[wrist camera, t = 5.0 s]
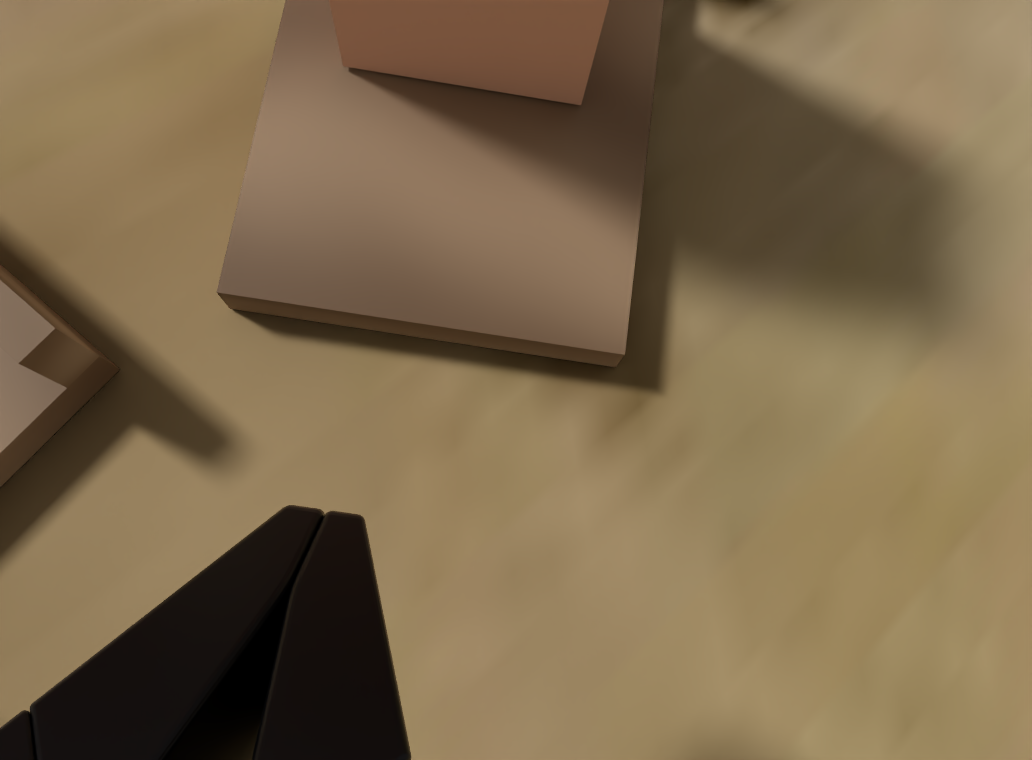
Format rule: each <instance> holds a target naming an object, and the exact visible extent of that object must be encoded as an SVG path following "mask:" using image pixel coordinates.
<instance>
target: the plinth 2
mask: <svg viewBox="0 0 1032 760" xmlns="http://www.w3.org/2000/svg"><path fill="white" fill-rule="evenodd" d="M663 4H664V0H609V4H608V7H607V11H606V15H605V18H604V22H603V26H602V30H601V33H600V37H599V41H598V44H597V48H596V52H595V55H594V59H593V63H592V67H591V70H590V74H589V78H588V81H587V85H586V89H585V93H584V96H583V100H582V104H581V105H576V104H570V103H564V102H557V101H551V100H545V99H539V98H533V97H527V96H521V95H515V94H509V93H503V92H497V91H491V90H484V89H478V88H472V87H466V86H460V85H454V84H448V83H442V82H436V81H430V80H424V79H418V78H411V77H405V76H399V75H393V74H387V73H381V72H375V71H369V70H363V69H357V68H351V67H345V66H343V63H342V59H341V54H340V49H339V45H338V40H337V35H336V31H335V26H334V21H333V17H332V12H331V7H330V3H329V0H286V1H285V5H284V10H283V14H282V18H281V22H280V27H279V31H278V35H277V39H276V43H275V48H274V52H273V56H272V60H271V65H270V69H269V73H268V77H267V82H266V86H265V90H264V94H263V98H262V103H261V107H260V111H259V115H258V120H257V124H256V128H255V132H254V137H253V141H252V145H251V149H250V154H249V158H248V162H247V166H246V170H245V175H244V179H243V183H242V187H241V192H240V196H239V200H238V204H237V209H236V213H235V217H234V221H233V225H232V230H231V234H230V238H229V242H228V247H227V251H226V255H225V259H224V264H223V268H222V272H221V276H220V280H219V285H218V289H217V293H218V295H219V296H220V297H221V298H222V299H223V301H224V302H225V303H226V304H227V305H228V307H229V308H230V309H236V310H243V311H249V312H256V313H262V314H269V315H275V316H282V317H288V318H295V319H302V320H308V321H315V322H321V323H328V324H334V325H341V326H348V327H354V328H361V329H367V330H374V331H380V332H387V333H393V334H400V335H407V336H413V337H420V338H426V339H433V340H439V341H446V342H453V343H459V344H466V345H472V346H479V347H485V348H492V349H498V350H505V351H512V352H518V353H525V354H531V355H538V356H544V357H551V358H558V359H564V360H571V361H577V362H584V363H590V364H597V365H603V366H610V367H616V366H617V365H618V363H619V362H620V361H621V359H622V358H623V357H624V355H625V350H626V341H627V332H628V322H629V313H630V304H631V295H632V286H633V277H634V268H635V259H636V250H637V241H638V231H639V222H640V213H641V204H642V195H643V186H644V177H645V168H646V159H647V150H648V140H649V131H650V122H651V113H652V104H653V95H654V86H655V77H656V68H657V59H658V49H659V40H660V31H661V22H662V13H663Z"/></svg>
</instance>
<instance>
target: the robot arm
mask: <svg viewBox="0 0 1032 760" xmlns="http://www.w3.org/2000/svg"><path fill="white" fill-rule="evenodd" d="M0 760H411V752H410V747H409V742H408V737H407V732H406V727H405V722H404V717H403V712H402V706H401V701H400V696H399V691H398V686H397V681H396V676H395V671H394V666H393V661H392V656H391V651H390V646H389V641H388V635H387V630H386V625H385V620H384V615H383V610H382V605H381V600H380V595H379V590H378V585H377V580H376V575H375V569H374V564H373V559H372V554H371V549H370V544H369V539H368V534H367V529H366V524H365V520H364V518H363V517H362V516H361V515H358V514H351V513H344V512H337V511H330V512H328V513H326V514H324V512H323V511H322V510H321V509H316V508H309V507H302V506H295V505H289V506H286V507H284V508H282V509H281V510H280V511H278V512H277V513H276V514H275V515H273V516H272V517H271V518H270V519H268V520H267V521H266V522H264V523H263V524H262V525H261V526H259V527H258V528H257V529H255V530H254V531H253V532H252V533H250V534H249V535H248V536H246V537H245V538H244V539H243V540H241V541H240V542H239V543H237V544H236V545H235V546H234V547H232V548H231V549H230V550H228V551H227V552H226V553H225V554H223V555H222V556H221V557H219V558H218V559H217V560H216V561H214V562H213V563H212V564H211V565H209V566H208V567H207V568H205V569H204V570H203V571H202V572H200V573H199V574H198V575H196V576H195V577H194V578H193V579H191V580H190V581H189V582H187V583H186V584H185V585H184V586H182V587H181V588H180V589H178V590H177V591H176V592H175V593H173V594H172V595H171V596H169V597H168V598H167V599H166V600H164V601H163V602H162V603H160V604H159V605H158V606H157V607H155V608H154V609H153V610H151V611H150V612H149V613H148V614H146V615H145V616H144V617H143V618H141V619H140V620H139V621H137V622H136V623H135V624H134V625H132V626H131V627H130V628H128V629H127V630H126V631H125V632H123V633H122V634H121V635H119V636H118V637H117V638H116V639H114V640H113V641H112V642H110V643H109V644H108V645H107V646H105V647H104V648H103V649H101V650H100V651H99V652H98V653H96V654H95V655H94V656H92V657H91V658H90V659H89V660H87V661H86V662H85V663H84V664H82V665H81V666H80V667H78V668H77V669H76V670H75V671H73V672H72V673H71V674H69V675H68V676H67V677H66V678H64V679H63V680H62V681H60V682H59V683H58V684H57V685H55V686H54V687H53V688H51V689H50V690H49V691H48V692H46V693H45V694H44V695H42V696H41V697H40V698H39V699H37V700H36V701H35V702H33V703H32V704H31V706H30V712H29V711H26V710H24V711H22V712H20V713H19V714H18V715H16V716H15V717H14V718H12V719H11V720H10V721H9V722H7V723H6V724H5V725H3V726H2V727H1V728H0Z"/></svg>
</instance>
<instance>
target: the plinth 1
mask: <svg viewBox="0 0 1032 760" xmlns="http://www.w3.org/2000/svg"><path fill="white" fill-rule="evenodd" d="M119 370H120V369H119V368H118V367H117V366H116V365H115V364H114V363H112V362H111V361H110V360H109V359H108V358H107V357H106V356H104V355H103V354H102V353H101V352H100V351H99V350H98V349H97V348H95V347H94V346H93V345H92V344H91V343H90V342H89V341H87V340H86V339H85V338H84V337H83V336H82V335H81V334H79V333H78V332H77V331H76V330H75V329H74V328H73V327H72V326H70V325H69V324H68V323H67V322H66V321H65V320H64V319H62V318H61V317H60V316H59V315H58V314H57V313H56V312H54V311H53V310H52V309H51V308H50V307H49V306H48V305H47V304H45V303H44V302H43V301H42V300H41V299H40V298H39V297H37V296H36V295H35V294H34V293H33V292H32V291H31V290H29V289H28V288H27V287H26V286H25V285H24V284H23V283H22V282H20V281H19V280H18V279H17V278H16V277H15V276H14V275H12V274H11V273H10V272H9V271H8V270H7V269H6V268H4V267H3V266H2V265H1V264H0V487H1V486H2V485H3V484H4V483H5V482H6V481H7V480H8V479H9V478H10V477H11V476H12V475H13V474H14V473H15V472H16V471H17V470H18V469H20V468H21V467H22V466H23V465H24V464H25V463H26V462H27V461H28V460H29V459H30V458H31V457H32V456H33V455H34V454H35V453H36V452H37V451H38V450H39V449H40V448H41V447H42V446H43V445H44V444H45V443H46V442H47V441H48V440H49V439H50V438H51V437H52V436H53V435H54V434H55V433H56V432H57V431H58V430H59V429H60V428H61V427H62V426H63V425H64V424H65V423H66V422H67V421H68V420H69V419H70V418H71V417H72V416H73V415H74V414H75V413H76V412H77V411H78V410H79V409H80V408H81V407H82V406H83V405H84V404H85V403H86V402H87V401H89V400H90V399H91V398H92V397H93V396H94V395H95V394H96V393H97V392H98V391H99V390H100V389H101V388H102V387H103V386H104V385H105V384H106V383H107V382H108V381H109V380H110V379H111V378H112V377H113V376H114V375H115V374H116V373H117V372H118V371H119Z"/></svg>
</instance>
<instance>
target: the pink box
mask: <svg viewBox="0 0 1032 760" xmlns="http://www.w3.org/2000/svg"><path fill="white" fill-rule="evenodd" d="M329 3H330V7H331V12H332V17H333V21H334V26H335V31H336V35H337V40H338V45H339V49H340V54H341V59H342V63H343V66H345V67H351V68H357V69H363V70H369V71H375V72H381V73H387V74H393V75H399V76H405V77H411V78H418V79H424V80H430V81H436V82H442V83H448V84H454V85H460V86H466V87H472V88H478V89H484V90H491V91H497V92H503V93H509V94H515V95H521V96H527V97H533V98H539V99H545V100H551V101H557V102H564V103H570V104H576V105H581V104H582V100H583V96H584V93H585V89H586V85H587V81H588V78H589V74H590V70H591V67H592V63H593V59H594V55H595V52H596V48H597V44H598V41H599V37H600V33H601V30H602V26H603V22H604V18H605V15H606V11H607V7H608V4H609V0H329Z"/></svg>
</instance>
